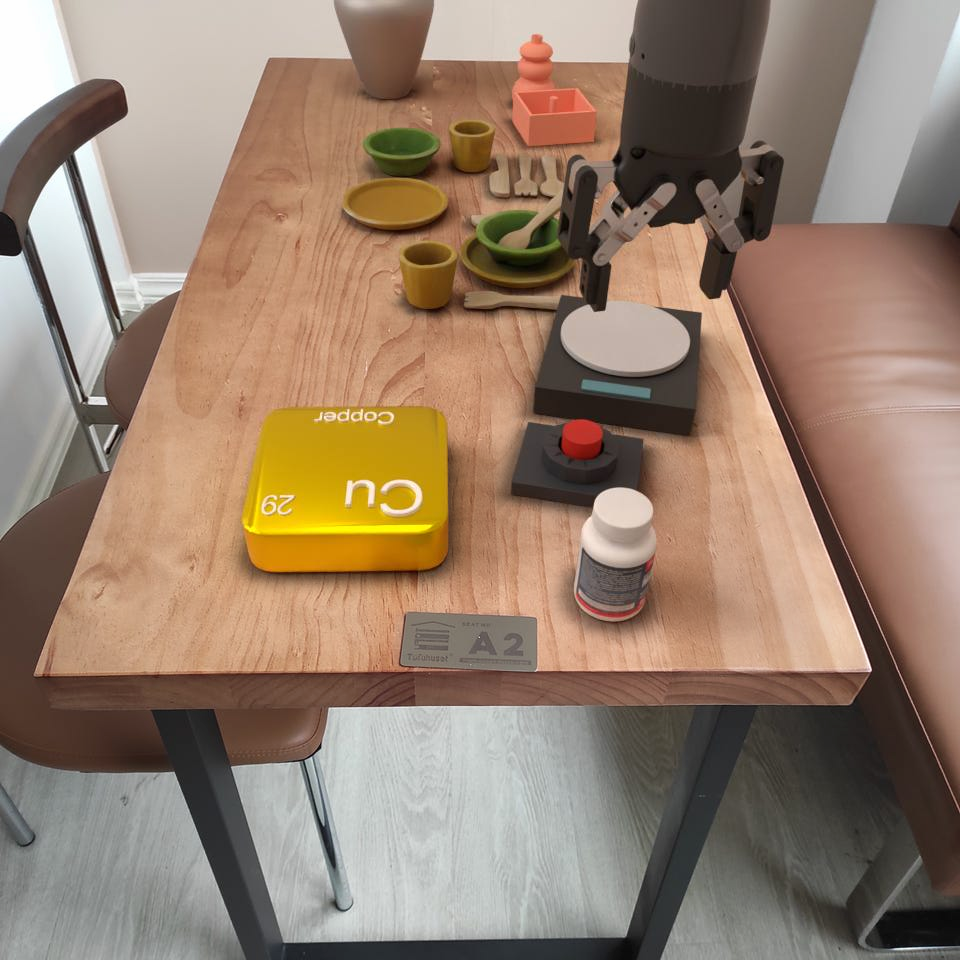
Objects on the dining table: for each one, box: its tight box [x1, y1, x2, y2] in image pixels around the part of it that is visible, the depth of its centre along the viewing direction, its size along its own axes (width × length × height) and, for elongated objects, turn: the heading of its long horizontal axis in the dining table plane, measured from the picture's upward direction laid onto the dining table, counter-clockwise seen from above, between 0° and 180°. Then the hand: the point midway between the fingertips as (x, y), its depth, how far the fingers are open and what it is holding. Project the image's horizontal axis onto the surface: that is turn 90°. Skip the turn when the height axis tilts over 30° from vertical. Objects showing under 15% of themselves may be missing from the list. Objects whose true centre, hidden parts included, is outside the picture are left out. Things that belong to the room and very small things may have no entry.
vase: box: [333, 0, 435, 100], centre depth 134 cm, size 14×14×25 cm
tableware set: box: [341, 118, 577, 311], centre depth 108 cm, size 41×28×6 cm
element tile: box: [241, 405, 449, 573], centre depth 73 cm, size 15×15×5 cm
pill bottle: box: [573, 488, 658, 622], centre depth 65 cm, size 5×5×9 cm
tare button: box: [561, 419, 603, 460], centre depth 75 cm, size 3×3×2 cm
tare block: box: [510, 421, 645, 508], centre depth 77 cm, size 10×8×3 cm
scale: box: [532, 294, 703, 437], centre depth 87 cm, size 14×16×4 cm
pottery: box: [511, 33, 598, 147], centre depth 132 cm, size 18×10×10 cm, turn 13°
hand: (653, 299), depth 65 cm, fingers open, 8 cm apart
